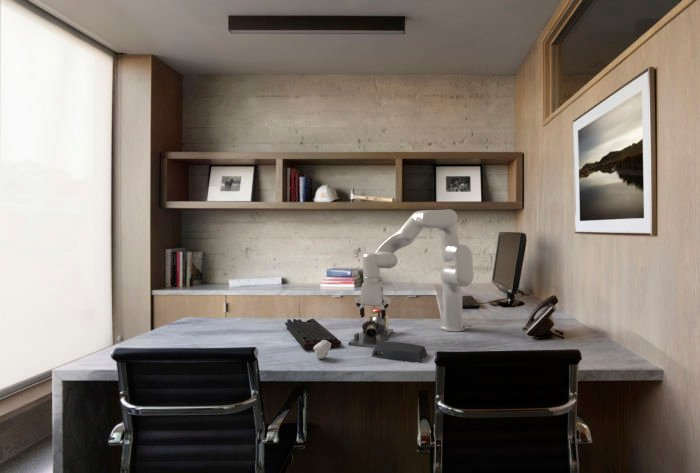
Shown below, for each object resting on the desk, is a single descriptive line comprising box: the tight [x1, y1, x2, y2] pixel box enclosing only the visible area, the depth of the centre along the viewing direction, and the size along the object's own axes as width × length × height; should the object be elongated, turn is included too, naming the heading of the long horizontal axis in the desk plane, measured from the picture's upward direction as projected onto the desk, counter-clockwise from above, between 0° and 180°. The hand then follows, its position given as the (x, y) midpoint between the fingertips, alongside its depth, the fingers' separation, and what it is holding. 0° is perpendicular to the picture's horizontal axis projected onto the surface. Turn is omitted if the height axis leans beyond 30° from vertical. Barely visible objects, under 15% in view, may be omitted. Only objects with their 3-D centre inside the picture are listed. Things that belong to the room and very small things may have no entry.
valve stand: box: [348, 307, 394, 349], centre depth 182 cm, size 13×29×11 cm, turn 160°
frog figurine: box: [313, 340, 331, 360], centre depth 153 cm, size 6×7×7 cm
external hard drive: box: [371, 340, 428, 364], centre depth 157 cm, size 13×19×4 cm
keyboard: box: [284, 318, 342, 352], centre depth 185 cm, size 42×16×5 cm, turn 20°
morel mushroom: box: [361, 319, 378, 338], centre depth 179 cm, size 18×7×6 cm, turn 175°
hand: (372, 317), depth 181 cm, fingers open, 9 cm apart
